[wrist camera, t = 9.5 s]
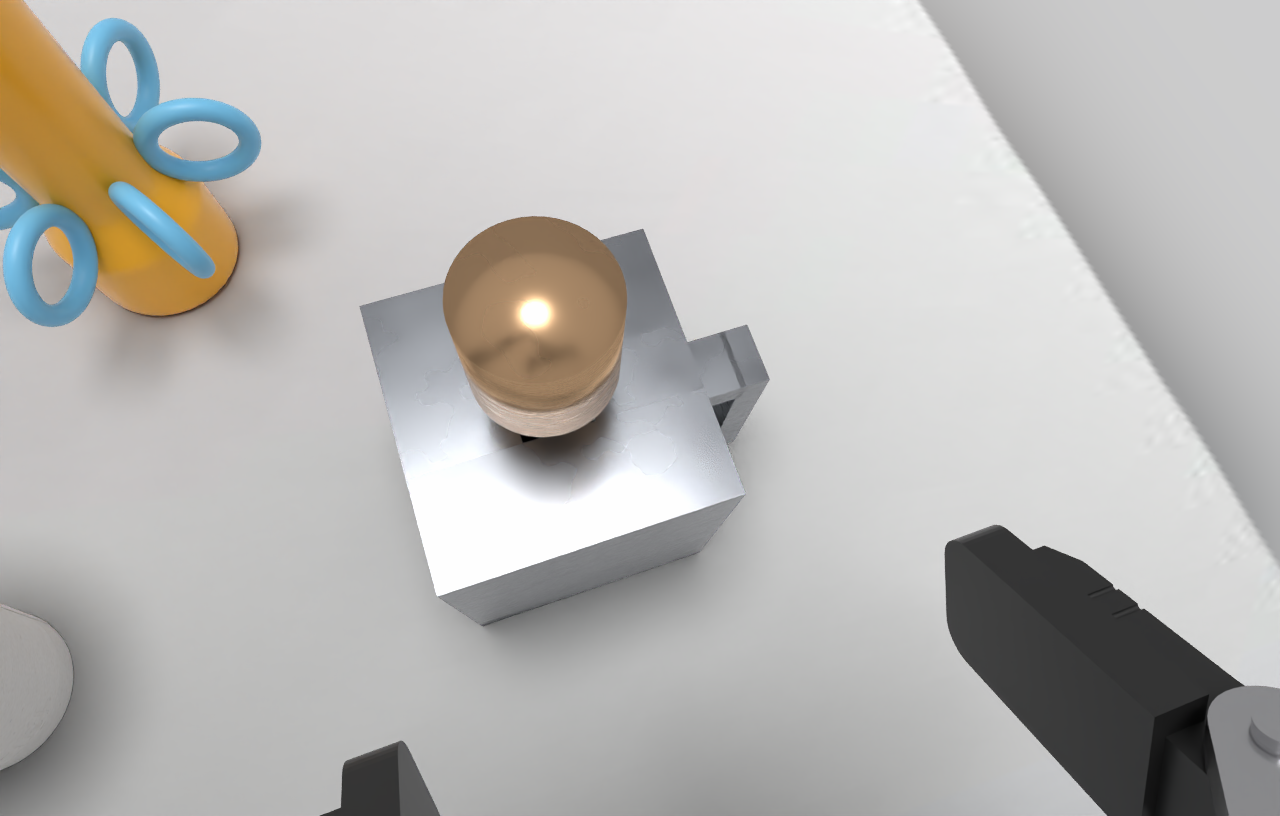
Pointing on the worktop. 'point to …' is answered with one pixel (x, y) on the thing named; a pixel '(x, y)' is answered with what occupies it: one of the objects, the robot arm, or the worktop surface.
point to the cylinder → (107, 177)
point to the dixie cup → (30, 683)
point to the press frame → (566, 453)
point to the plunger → (537, 324)
